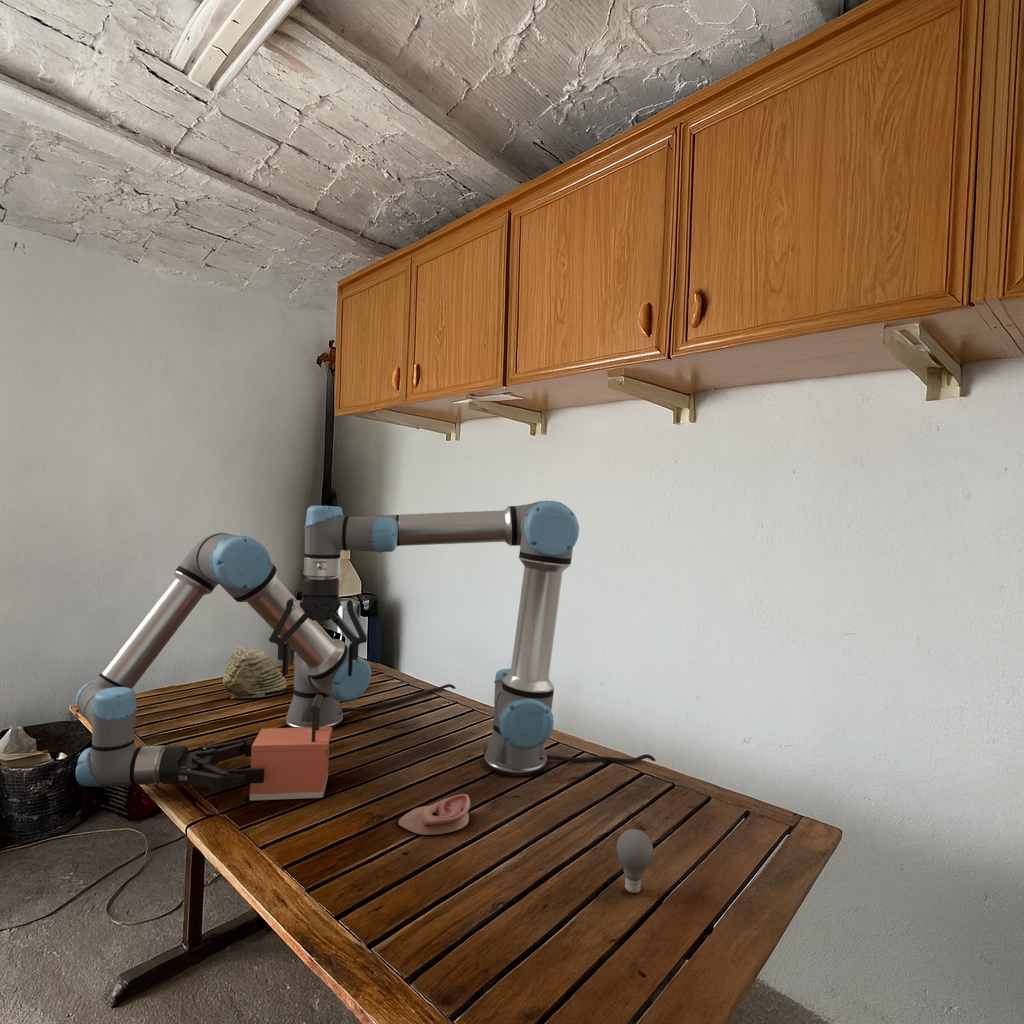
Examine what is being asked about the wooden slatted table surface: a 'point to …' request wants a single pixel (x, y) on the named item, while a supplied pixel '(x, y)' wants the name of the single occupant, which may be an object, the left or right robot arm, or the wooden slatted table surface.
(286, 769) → the chest
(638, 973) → the wooden slatted table surface
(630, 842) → the light bulb
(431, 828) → the anatomical model
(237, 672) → the fossil
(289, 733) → the lid
